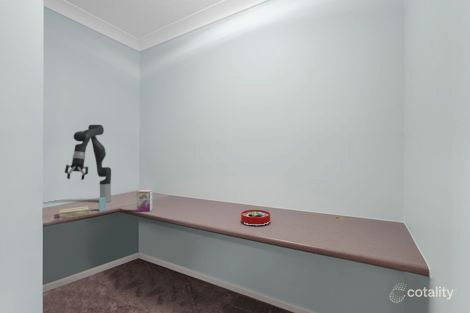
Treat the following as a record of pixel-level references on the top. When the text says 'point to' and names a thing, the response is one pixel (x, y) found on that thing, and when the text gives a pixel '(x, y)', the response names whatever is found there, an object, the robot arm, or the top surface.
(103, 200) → the teal block
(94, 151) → the robot arm
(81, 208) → the birch plinth
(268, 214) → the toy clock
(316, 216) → the top surface
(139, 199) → the candy bar box
